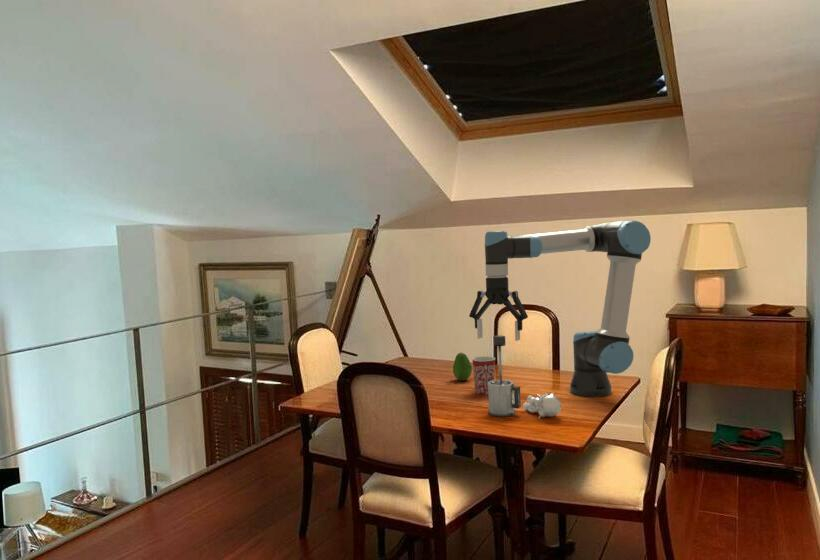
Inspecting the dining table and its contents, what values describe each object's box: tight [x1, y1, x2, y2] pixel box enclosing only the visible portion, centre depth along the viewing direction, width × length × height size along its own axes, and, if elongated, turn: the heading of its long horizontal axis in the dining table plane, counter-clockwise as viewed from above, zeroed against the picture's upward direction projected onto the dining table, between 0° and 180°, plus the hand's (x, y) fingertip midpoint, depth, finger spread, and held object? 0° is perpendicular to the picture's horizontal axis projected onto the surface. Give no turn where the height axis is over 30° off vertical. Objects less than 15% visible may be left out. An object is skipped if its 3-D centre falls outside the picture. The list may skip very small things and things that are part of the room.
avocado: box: [452, 352, 473, 381], centre depth 260 cm, size 8×8×12 cm
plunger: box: [492, 335, 509, 385], centre depth 210 cm, size 6×6×17 cm
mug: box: [471, 355, 496, 396], centre depth 240 cm, size 13×9×14 cm
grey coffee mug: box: [487, 379, 522, 418], centre depth 210 cm, size 11×9×10 cm
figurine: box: [522, 391, 562, 419], centre depth 207 cm, size 11×7×15 cm
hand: (498, 339), depth 209 cm, fingers open, 13 cm apart
